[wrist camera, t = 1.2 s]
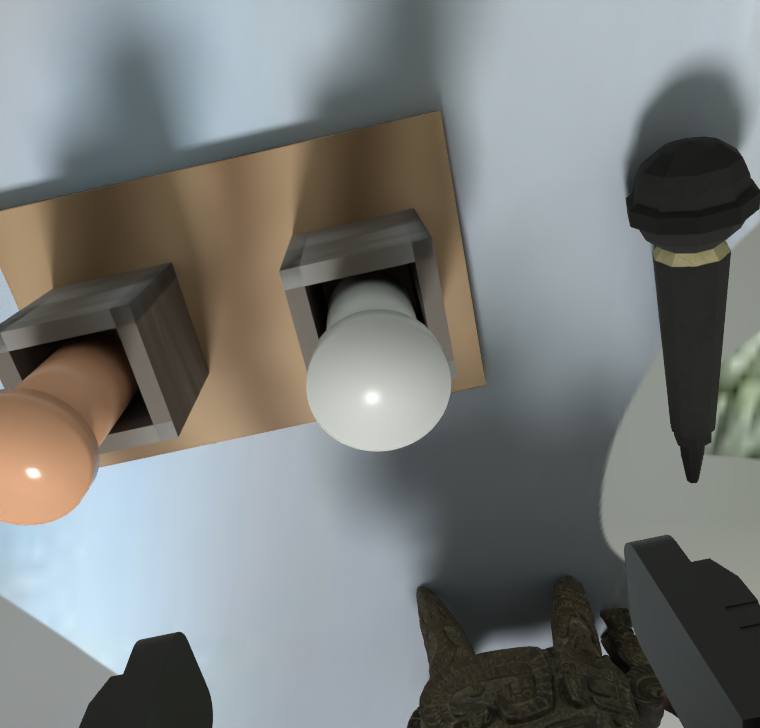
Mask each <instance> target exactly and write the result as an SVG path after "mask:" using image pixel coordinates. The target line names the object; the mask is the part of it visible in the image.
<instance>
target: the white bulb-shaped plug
mask: <svg viewBox="0 0 760 728" xmlns="http://www.w3.org/2000/svg"><path fill="white" fill-rule="evenodd" d="M306 392H307V399H308V403H309V406H310V409H311V412H312V413H313V415H314V417H315V419H316V420H317V422H318V423H319V425H320V426H321V427H322V428H323V429H324V430H325V431H326V432H327V433H328V434H329V435H330V436H332V437H333V438H334V439H336V440H338V441H339V442H341V443H343V444H345V445H347V446H350V447H353V448H356V449H360V450H365V451H375V452H376V451H389V450H395V449H398V448H402V447H405V446H407V445H410V444H412V443H414V442H415V441H417V440H419V439H420V438H422V437H423V436H425V435H426V434H427V433H428V432H429V431H430V430H432V429H433V427H434V426H435V425H436V424H437V423H438V421H439V420H440V418H441V417H442V415H443V414H444V411H445V409H446V407H447V404H448V401H449V398H450V392H451V375H450V370H449V366H448V363H447V360H446V358H445V355H444V353H443V350H442V348H441V345H440V344H439V342H438V340H437V339H436V337H435V336H434V335H433V333H432V332H431V331H430V330H429V329H428V328H427V327H426V326H425V325H424V324H422V323H421V322H419V321H418V320H417V318H416V315H415V312H414V309H413V306H412V303H411V300H410V297H409V294H408V292H407V291H406V289H405V287H404V286H403V285H402V284H401V283H400V282H399V281H398V280H397V279H396V278H394V277H393V276H391V275H389V274H387V273H384V272H381V271H372V272H367V273H363V274H358V275H353V276H349V277H346V278H345V279H343V280H342V281H341V282H340V283H339V284H338V285H337V286H336V288H335V289H334V291H333V292H332V294H331V297H330V299H329V304H328V314H327V327H326V331H325V332H324V333H323V335H322V336H321V337H320V339H319V340H318V341H317V343H316V345H315V347H314V349H313V351H312V354H311V356H310V361H309V365H308V372H307V382H306Z"/></svg>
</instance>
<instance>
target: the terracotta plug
mask: <svg viewBox="0 0 760 728" xmlns="http://www.w3.org/2000/svg"><path fill="white" fill-rule="evenodd" d="M138 390H139V386H138V383H137V381H136V378H135V375H134V373H133V370H132V368H131V365H130V362H129V360H128V357H127V355H126V352H125V350H124V347H123V344H122V342H121V339H120V338H118V337H116V336H114V335H112V334H109V333H105V332H100V331H99V332H95V333H90V334H85V335H81V336H76V337H72V338H70V339H69V340H68V341H66V342H65V343H64V344H63V345H62V346H61V347H60V348H59V349H57V350H56V351H55V352H54V353H53V354H52V355H51V356H50V357H49V358H47V359H46V360H45V361H44V362H43V363H42V364H41V365H40V366H39V367H37V368H36V369H35V370H34V371H33V372H32V373H31V374H30V375H28V376H27V377H26V378H25V379H24V380H23V381H22V382H21V383H20V384H18V385H17V386H16V387H15V388H8V389H2V390H0V521H2V522H6V523H11V524H16V525H38V524H44V523H48V522H52V521H54V520H57V519H59V518H61V517H63V516H65V515H66V514H68V513H69V512H71V511H72V510H73V509H74V508H75V507H76V506H77V505H78V504H79V503H80V501H81V500H82V498H83V497H84V495H85V494H86V492H87V491H88V489H89V487H90V486H91V484H92V483H93V481H94V479H95V477H96V475H97V472H98V469H99V462H100V453H99V446H100V445H101V443H102V442H103V441H104V439H105V438H106V436H107V435H108V433H109V432H110V430H111V429H112V428H113V426H114V425H115V423H116V422H117V420H118V419H119V417H120V416H121V415H122V413H123V412H124V410H125V409H126V407H127V406H128V404H129V403H130V402H131V400H132V399H133V397H134V396H135V394H136V393H137V391H138Z"/></svg>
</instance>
